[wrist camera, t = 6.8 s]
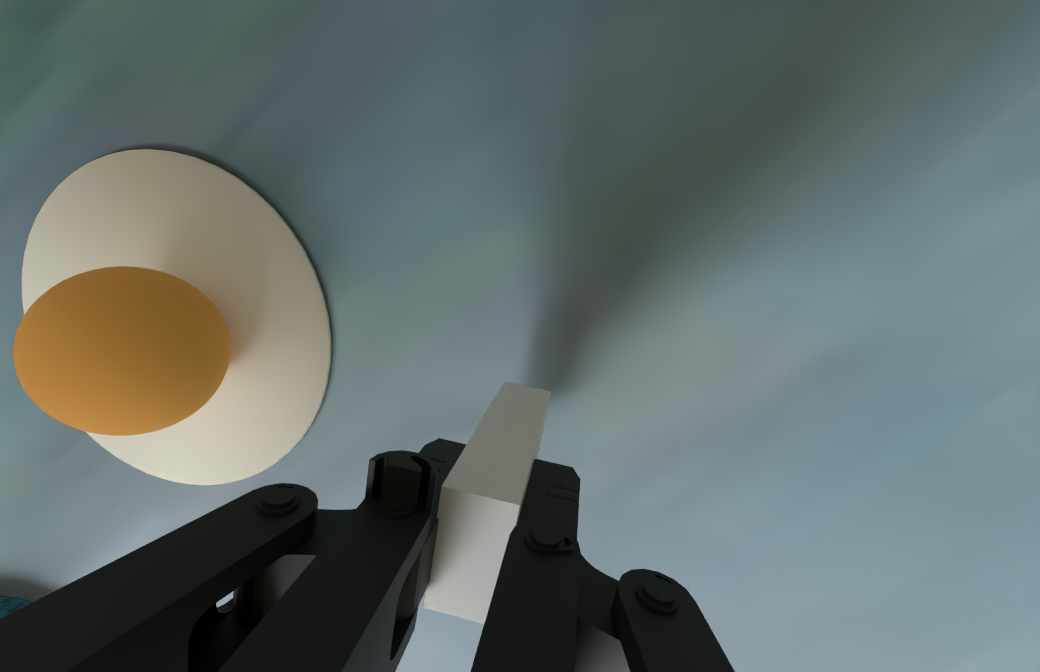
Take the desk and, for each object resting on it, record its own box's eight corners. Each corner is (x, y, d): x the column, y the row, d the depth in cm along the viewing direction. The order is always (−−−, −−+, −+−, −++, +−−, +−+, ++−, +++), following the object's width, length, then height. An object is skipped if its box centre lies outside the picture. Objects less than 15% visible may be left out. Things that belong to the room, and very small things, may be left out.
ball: (237, 263, 19) (227, 293, 14) (232, 394, 20) (222, 461, 16) (49, 245, 16) (-38, 274, 12) (57, 397, 18) (-19, 477, 13)
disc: (346, 182, 17) (343, 181, 16) (318, 515, 20) (315, 518, 19) (16, 124, 18) (9, 123, 18) (37, 443, 21) (32, 445, 21)
